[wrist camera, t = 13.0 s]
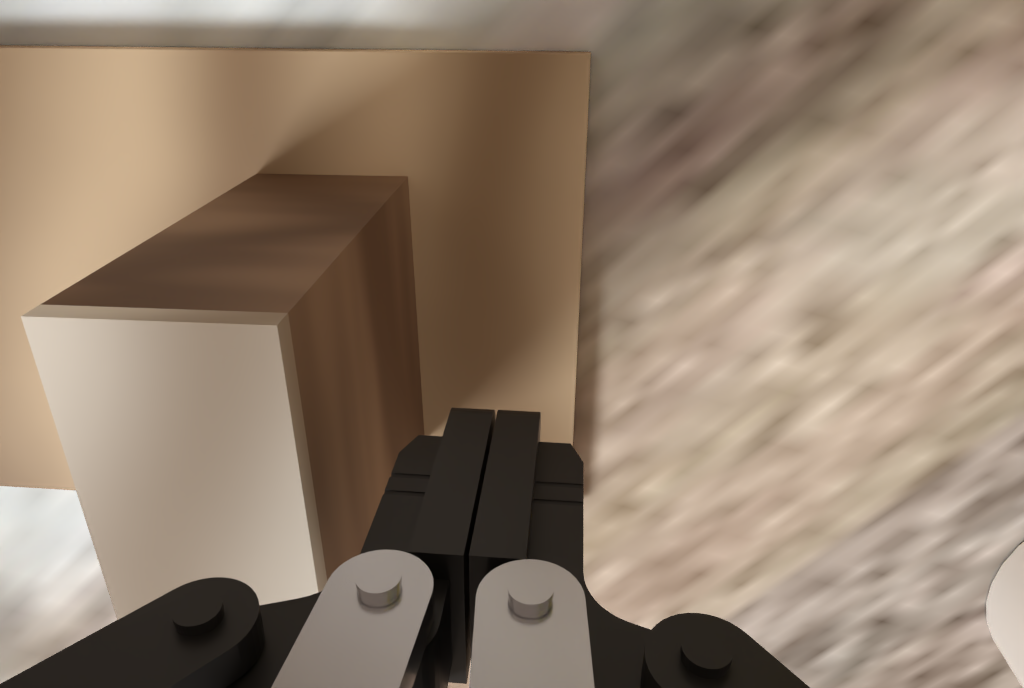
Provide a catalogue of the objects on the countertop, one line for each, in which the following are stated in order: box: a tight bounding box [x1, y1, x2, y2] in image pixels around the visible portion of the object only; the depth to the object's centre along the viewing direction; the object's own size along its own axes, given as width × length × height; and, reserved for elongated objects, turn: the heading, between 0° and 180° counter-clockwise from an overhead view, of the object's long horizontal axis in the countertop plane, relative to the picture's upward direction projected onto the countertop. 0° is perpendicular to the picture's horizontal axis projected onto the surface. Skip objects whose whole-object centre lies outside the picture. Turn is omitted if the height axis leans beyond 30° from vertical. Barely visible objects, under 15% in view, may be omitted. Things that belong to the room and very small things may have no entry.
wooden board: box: [0, 45, 591, 490], centre depth 19 cm, size 17×12×1 cm
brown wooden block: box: [21, 174, 424, 620], centre depth 15 cm, size 4×7×8 cm, turn 0°
